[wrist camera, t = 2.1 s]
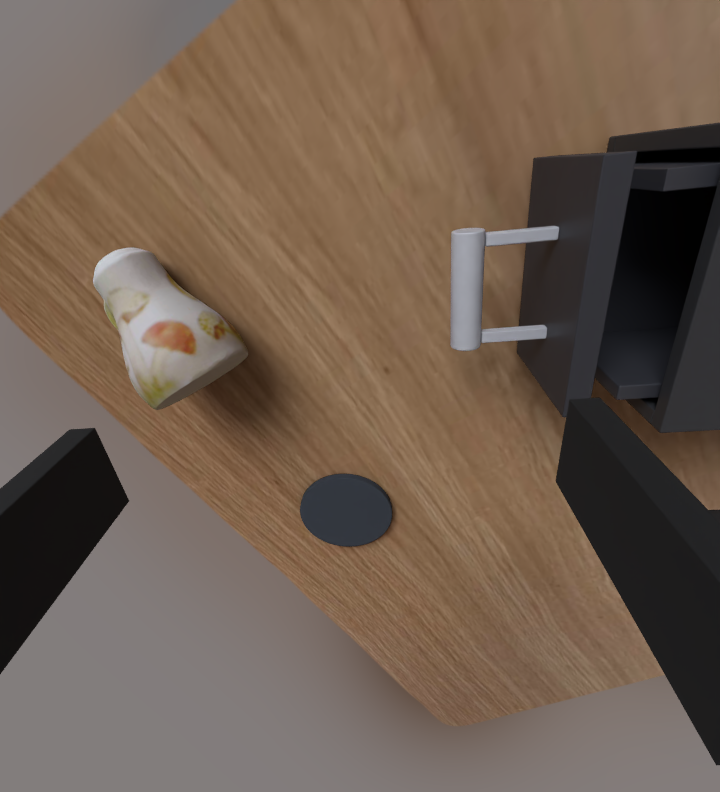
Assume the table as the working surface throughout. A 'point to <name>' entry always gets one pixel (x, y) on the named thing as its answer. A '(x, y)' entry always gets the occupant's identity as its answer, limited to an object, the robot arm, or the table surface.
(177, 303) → the mug
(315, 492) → the coaster
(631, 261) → the drawer
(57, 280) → the table surface
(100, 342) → the table surface
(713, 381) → the cabinet
